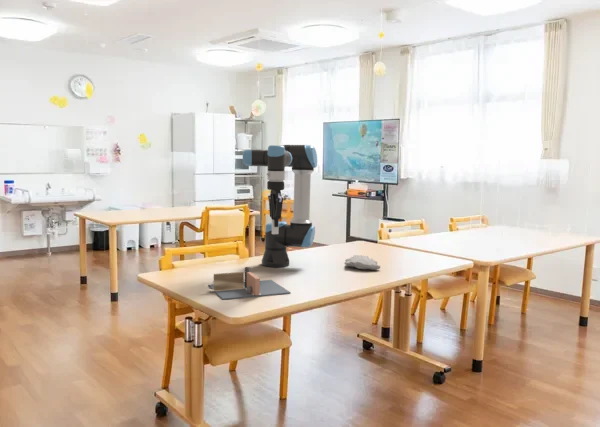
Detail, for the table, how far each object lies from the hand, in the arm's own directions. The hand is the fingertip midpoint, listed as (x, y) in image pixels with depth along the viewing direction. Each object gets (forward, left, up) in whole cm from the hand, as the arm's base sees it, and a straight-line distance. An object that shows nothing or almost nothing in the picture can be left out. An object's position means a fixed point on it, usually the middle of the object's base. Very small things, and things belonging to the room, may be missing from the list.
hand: (275, 233), depth 232 cm
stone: (-30, +60, -25) cm, 72 cm away
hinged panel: (+6, -12, -23) cm, 27 cm away
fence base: (-2, -19, -24) cm, 30 cm away
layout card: (0, -12, -24) cm, 27 cm away
